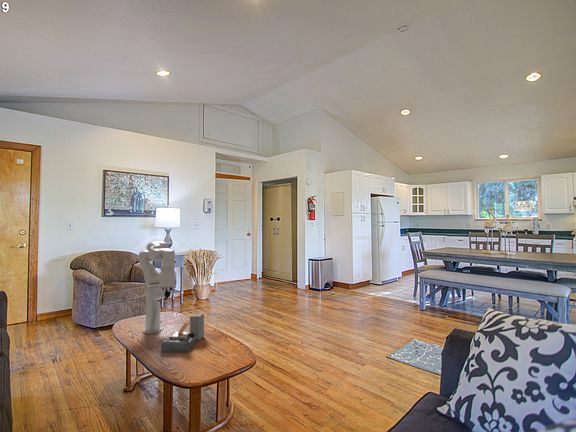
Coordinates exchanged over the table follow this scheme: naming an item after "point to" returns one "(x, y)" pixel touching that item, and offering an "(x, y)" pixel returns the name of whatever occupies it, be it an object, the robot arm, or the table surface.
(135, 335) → the table surface
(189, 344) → the breaker box
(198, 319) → the skincare box
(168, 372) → the table surface
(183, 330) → the breaker lever
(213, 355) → the table surface
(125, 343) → the table surface
